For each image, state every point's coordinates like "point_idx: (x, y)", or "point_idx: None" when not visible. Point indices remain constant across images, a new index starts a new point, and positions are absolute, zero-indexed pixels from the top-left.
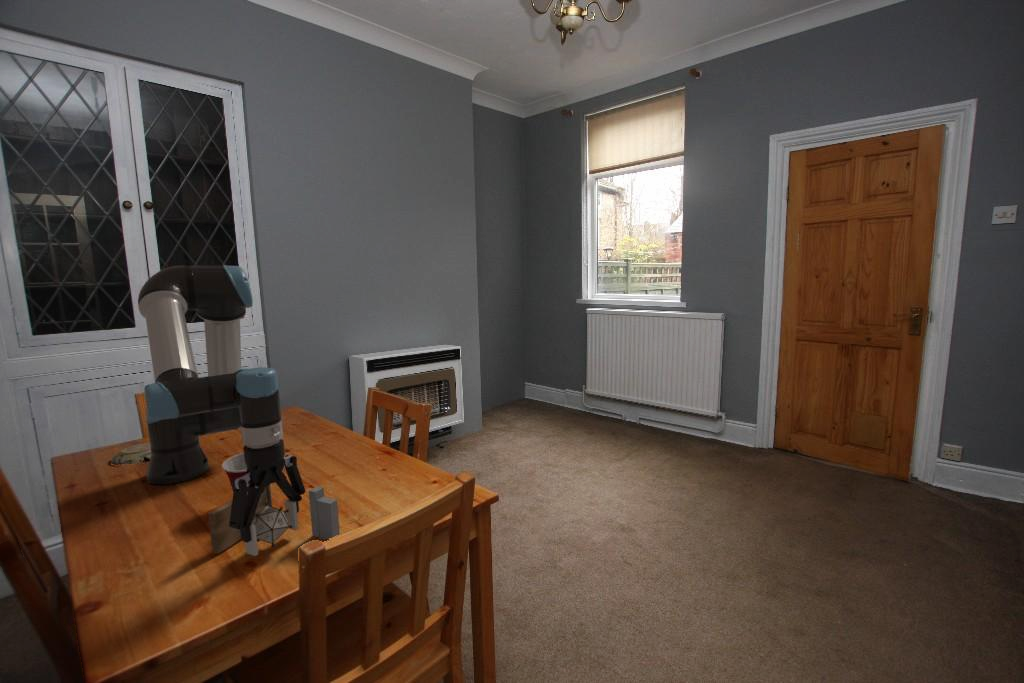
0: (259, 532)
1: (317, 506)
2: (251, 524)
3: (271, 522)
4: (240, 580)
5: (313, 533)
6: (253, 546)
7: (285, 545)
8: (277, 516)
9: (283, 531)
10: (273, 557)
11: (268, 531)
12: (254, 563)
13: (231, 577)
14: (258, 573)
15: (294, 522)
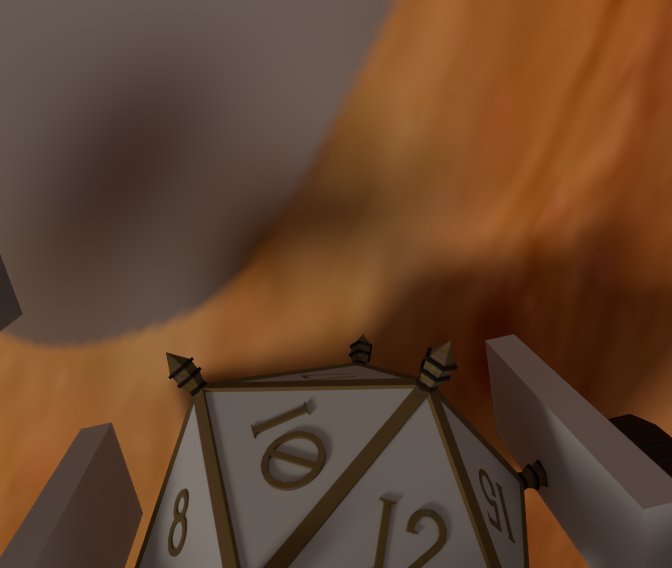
0: (497, 468)
1: None
2: (659, 554)
3: (409, 472)
4: (639, 223)
5: (4, 310)
6: (554, 375)
7: (235, 365)
8: (317, 515)
9: (266, 378)
10: (371, 292)
11: (447, 401)
12: (483, 333)
13: (645, 305)
14: (537, 195)
15: (89, 475)
